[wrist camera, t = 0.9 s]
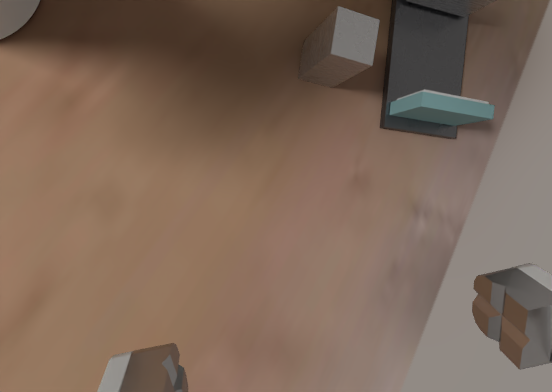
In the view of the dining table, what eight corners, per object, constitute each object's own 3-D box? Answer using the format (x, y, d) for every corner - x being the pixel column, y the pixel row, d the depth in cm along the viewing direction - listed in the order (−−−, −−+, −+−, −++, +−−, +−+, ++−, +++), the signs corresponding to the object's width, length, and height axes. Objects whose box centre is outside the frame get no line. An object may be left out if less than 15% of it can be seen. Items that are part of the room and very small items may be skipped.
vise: (450, 138, 48) (495, 132, 42) (379, 127, 45) (416, 119, 39) (464, 4, 48) (511, -23, 41) (393, -16, 45) (433, -50, 38)
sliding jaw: (454, 125, 47) (493, 119, 42) (389, 115, 44) (421, 106, 39) (456, 110, 47) (494, 101, 42) (391, 99, 44) (423, 87, 39)
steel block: (297, 78, 42) (330, 53, 33) (303, 40, 42) (338, 6, 33) (332, 87, 43) (372, 65, 35) (338, 51, 43) (379, 19, 35)
